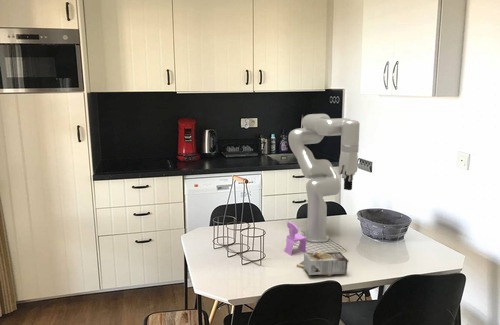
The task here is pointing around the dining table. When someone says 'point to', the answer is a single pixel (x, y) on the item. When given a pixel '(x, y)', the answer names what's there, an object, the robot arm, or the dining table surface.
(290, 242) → the toy chair
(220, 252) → the dining table surface
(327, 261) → the coffee box
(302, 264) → the mat
